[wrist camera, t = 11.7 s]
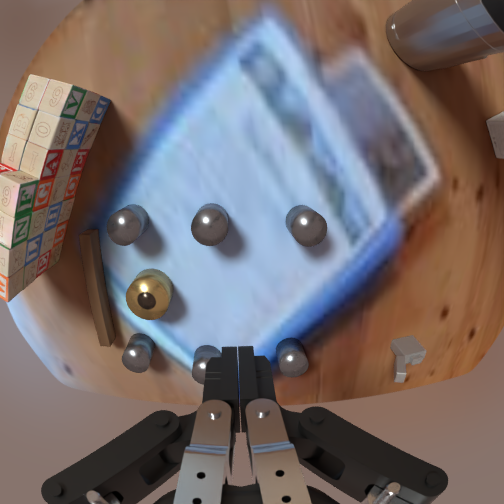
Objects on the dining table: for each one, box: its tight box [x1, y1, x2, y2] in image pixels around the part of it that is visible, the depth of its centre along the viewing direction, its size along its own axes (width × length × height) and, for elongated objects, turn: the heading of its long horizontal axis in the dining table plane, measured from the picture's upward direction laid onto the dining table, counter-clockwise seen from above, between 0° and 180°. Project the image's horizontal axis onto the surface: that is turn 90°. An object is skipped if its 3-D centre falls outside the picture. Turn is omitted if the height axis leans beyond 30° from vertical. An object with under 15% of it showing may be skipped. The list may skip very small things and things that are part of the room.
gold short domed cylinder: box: [126, 269, 173, 320], centre depth 33 cm, size 5×5×4 cm
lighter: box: [390, 335, 426, 383], centre depth 37 cm, size 7×2×8 cm, turn 92°
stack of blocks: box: [0, 74, 111, 302], centre depth 24 cm, size 21×6×12 cm, turn 154°
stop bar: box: [79, 229, 116, 347], centre depth 33 cm, size 2×15×2 cm, turn 178°
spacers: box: [107, 203, 327, 384], centre depth 34 cm, size 24×22×4 cm
